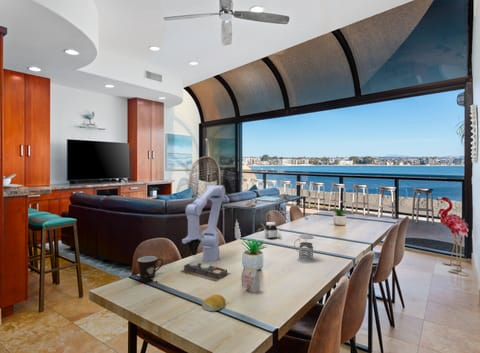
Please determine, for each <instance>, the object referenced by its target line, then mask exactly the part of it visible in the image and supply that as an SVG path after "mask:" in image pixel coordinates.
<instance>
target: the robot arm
mask: <svg viewBox="0 0 480 353" xmlns="http://www.w3.org/2000/svg"><path fill="white" fill-rule="evenodd" d="M225 195H226V188H225V186H224V185H212V184H208V185H207V186H206V187H205V191H204V192H203V194H202V195H199V196H197V197H196V199H195V200H194V201H193V202H192V203H189V204H187V205H186V207H185V214H186V218H187V235H186V236H185V237H184V238H182V239H181V243H182V244H187V245H188V247H189V250H190V254H191V255H192V256H196V255H197V253H198V249H199V246H201V248H202V262H204V263H214V262H216V261H217V260H220V258H221V257H220V247H219V244H220V233H219V232H218V231H217V225H218V222H219V216H220V213H221V212H220V211H221V206H222V202H223V201H224V200H225ZM208 200H210V201H211V203H212V204H211V207H210V213H209V217H208V222H207V226H206V227H207V228H206V229H204V230H202V232H201V233H200V216H201V215H202V211H203V209H204V207H205V206H206V205H207V203H208Z"/></svg>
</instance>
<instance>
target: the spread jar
mask: <svg viewBox="0 0 480 353" xmlns="http://www.w3.org/2000/svg"><path fill="white" fill-rule="evenodd" d="M263 230H264V237H265V238H266V239H267V240H276V238H277V237H278V238H279V239H280V238H281V239H282V235H281V232H280V229H278V228H277V226H276V222H274V221H267V222H266V224H265V226H264V229H263Z"/></svg>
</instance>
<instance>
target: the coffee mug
mask: <svg viewBox="0 0 480 353" xmlns="http://www.w3.org/2000/svg"><path fill="white" fill-rule="evenodd" d="M158 261H161V264H160V266H159V267H157V263H158ZM163 264H164V259H162V258H157V257H156V256H152V255H151V256H150V255H147V256H142V257H140V258H139V257H138V259H137V265H138V272H139V279H140V282H141V283H151V282H154V281H155V279H154V278H155V276H156V272H158V270H160V269H161V267H163Z"/></svg>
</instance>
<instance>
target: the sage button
mask: <svg viewBox="0 0 480 353" xmlns="http://www.w3.org/2000/svg"><path fill="white" fill-rule="evenodd" d="M210 266H211V264H209V263H201V269H203V270H207V269H209V268H210Z"/></svg>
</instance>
